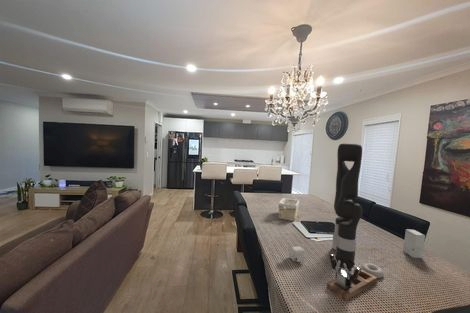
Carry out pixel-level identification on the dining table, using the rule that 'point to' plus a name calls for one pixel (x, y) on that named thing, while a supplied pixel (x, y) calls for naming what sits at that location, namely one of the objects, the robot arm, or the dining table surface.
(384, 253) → the dining table surface
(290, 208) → the storage basket
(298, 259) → the elephant figurine
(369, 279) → the wooden compartment tray
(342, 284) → the silver metal block
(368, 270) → the donut
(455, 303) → the dining table surface
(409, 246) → the skincare box
